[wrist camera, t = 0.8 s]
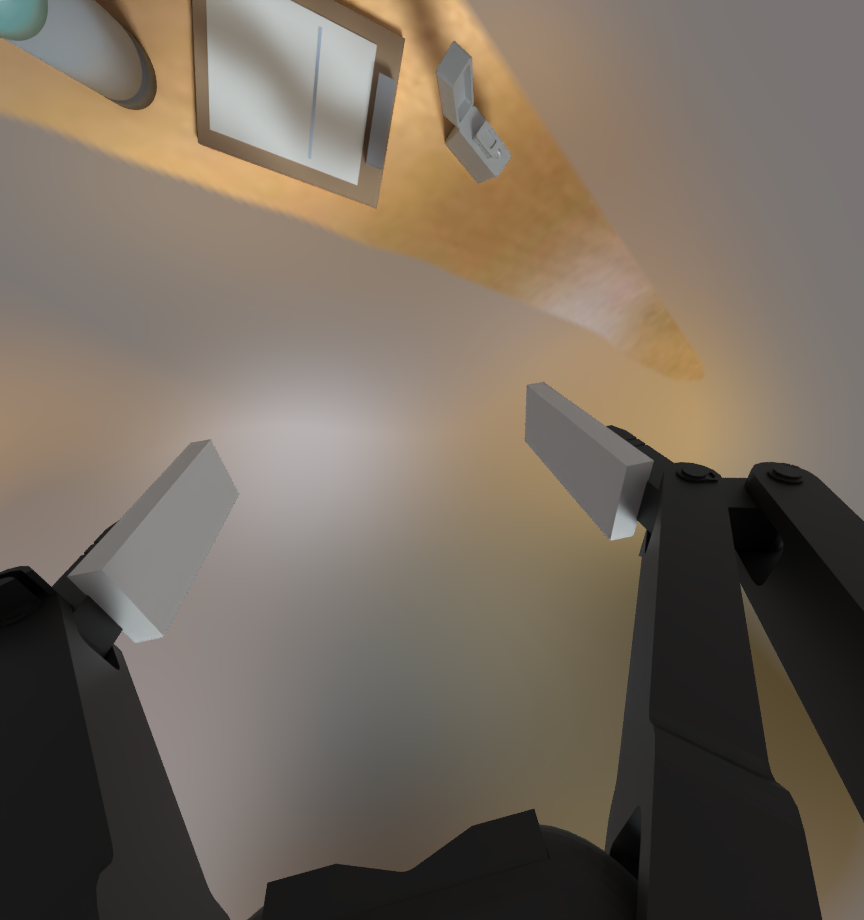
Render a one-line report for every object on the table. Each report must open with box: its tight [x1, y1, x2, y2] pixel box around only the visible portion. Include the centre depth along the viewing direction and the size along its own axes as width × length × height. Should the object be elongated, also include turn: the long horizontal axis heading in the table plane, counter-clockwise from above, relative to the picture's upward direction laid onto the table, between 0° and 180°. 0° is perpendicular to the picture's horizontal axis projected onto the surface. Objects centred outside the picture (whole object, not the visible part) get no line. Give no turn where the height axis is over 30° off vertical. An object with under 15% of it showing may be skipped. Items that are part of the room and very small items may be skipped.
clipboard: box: [192, 0, 405, 208], centre depth 24 cm, size 10×13×2 cm
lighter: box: [436, 41, 511, 183], centre depth 25 cm, size 7×2×8 cm, turn 51°
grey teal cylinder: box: [0, 0, 157, 110], centre depth 18 cm, size 4×4×12 cm
